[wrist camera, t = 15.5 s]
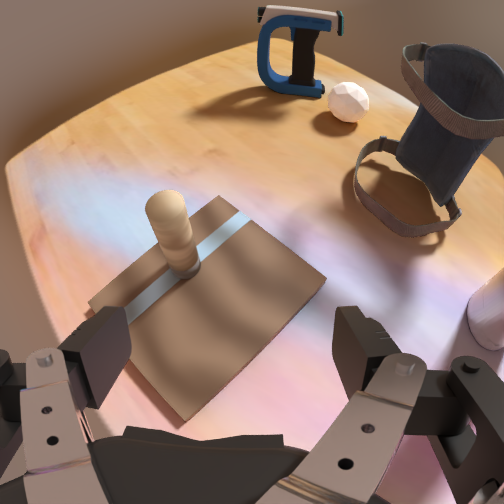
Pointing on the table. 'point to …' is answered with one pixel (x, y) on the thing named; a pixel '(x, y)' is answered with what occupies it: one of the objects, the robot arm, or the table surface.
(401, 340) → the table surface
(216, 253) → the board
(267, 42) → the handheld scanner
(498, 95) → the knee pad
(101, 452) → the robot arm
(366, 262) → the table surface
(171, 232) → the tan round-topped cylinder
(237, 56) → the table surface
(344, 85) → the ball
